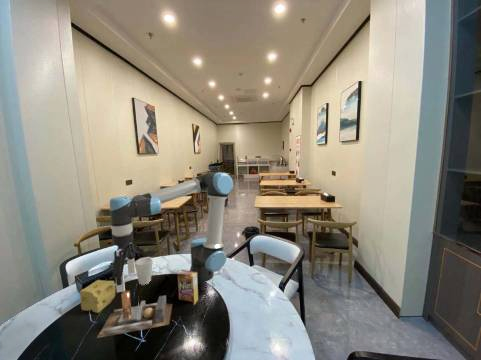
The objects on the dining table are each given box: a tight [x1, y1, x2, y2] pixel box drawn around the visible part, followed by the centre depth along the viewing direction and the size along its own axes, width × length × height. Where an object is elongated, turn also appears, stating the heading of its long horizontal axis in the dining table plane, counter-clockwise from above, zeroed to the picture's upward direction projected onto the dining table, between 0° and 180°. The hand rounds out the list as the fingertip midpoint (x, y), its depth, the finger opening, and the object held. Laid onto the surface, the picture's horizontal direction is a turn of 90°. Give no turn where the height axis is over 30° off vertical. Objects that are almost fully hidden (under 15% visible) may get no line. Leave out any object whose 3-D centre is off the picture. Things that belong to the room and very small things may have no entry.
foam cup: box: [134, 256, 153, 286], centre depth 117 cm, size 10×9×13 cm
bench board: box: [96, 295, 173, 339], centre depth 87 cm, size 27×13×8 cm, turn 103°
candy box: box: [177, 269, 199, 306], centre depth 99 cm, size 9×4×15 cm, turn 73°
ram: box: [118, 290, 147, 326], centre depth 86 cm, size 9×8×12 cm
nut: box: [144, 308, 154, 318], centre depth 88 cm, size 4×4×4 cm
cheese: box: [79, 279, 116, 313], centre depth 99 cm, size 10×11×10 cm
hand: (126, 281), depth 85 cm, fingers open, 13 cm apart
